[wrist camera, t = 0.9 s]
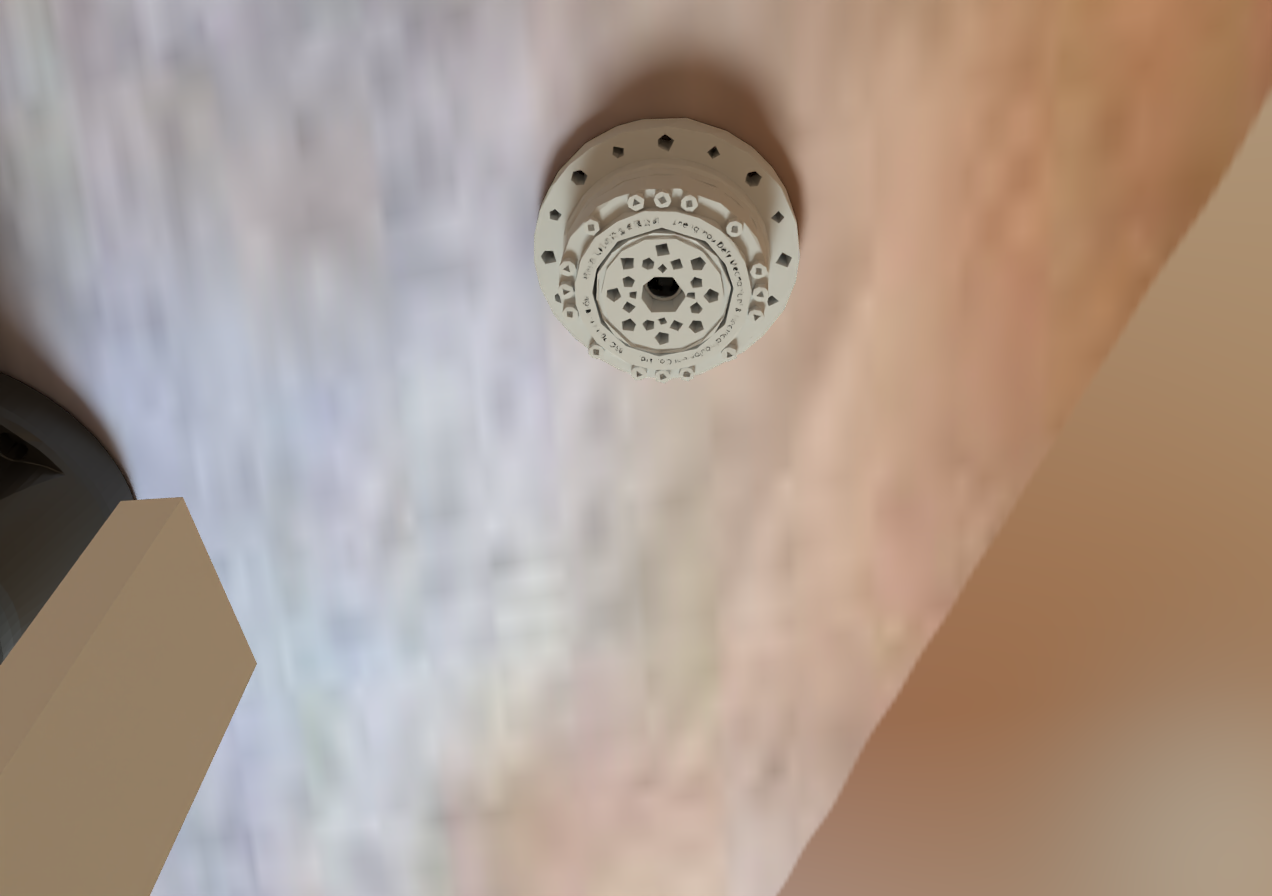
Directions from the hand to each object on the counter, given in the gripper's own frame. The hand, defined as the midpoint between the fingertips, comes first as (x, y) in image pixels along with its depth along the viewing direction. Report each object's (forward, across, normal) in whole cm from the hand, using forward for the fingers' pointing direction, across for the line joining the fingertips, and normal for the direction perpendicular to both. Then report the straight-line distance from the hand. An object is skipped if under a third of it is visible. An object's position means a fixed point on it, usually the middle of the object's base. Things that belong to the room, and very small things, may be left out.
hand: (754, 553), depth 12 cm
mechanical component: (+29, -2, -8) cm, 30 cm away
